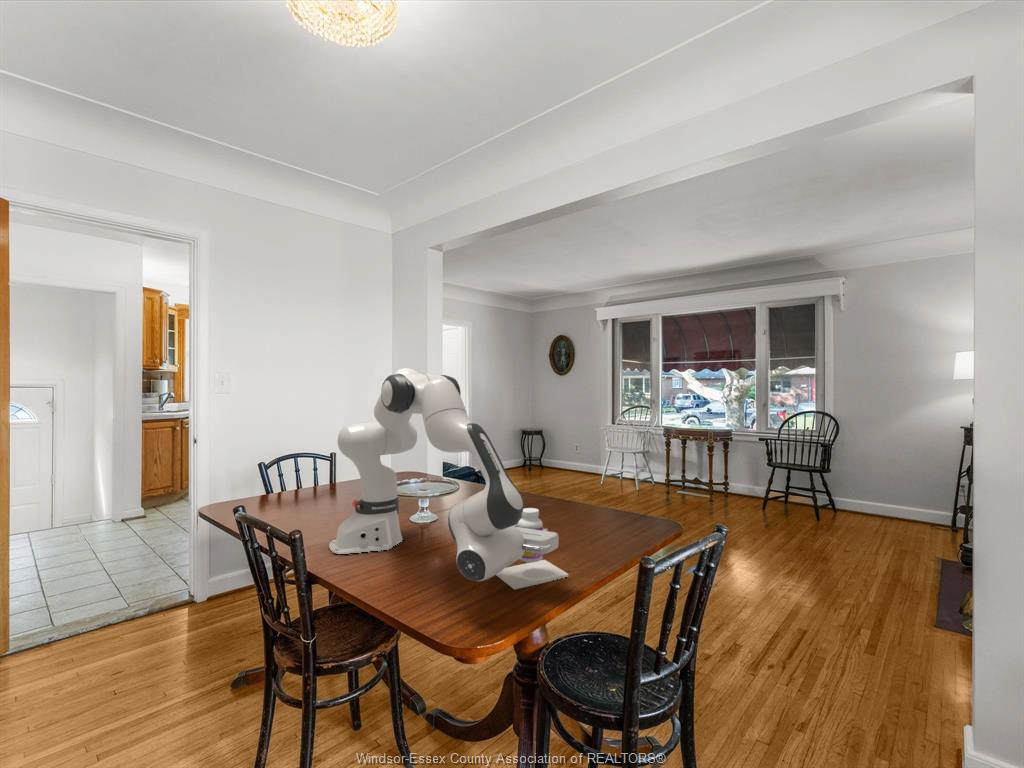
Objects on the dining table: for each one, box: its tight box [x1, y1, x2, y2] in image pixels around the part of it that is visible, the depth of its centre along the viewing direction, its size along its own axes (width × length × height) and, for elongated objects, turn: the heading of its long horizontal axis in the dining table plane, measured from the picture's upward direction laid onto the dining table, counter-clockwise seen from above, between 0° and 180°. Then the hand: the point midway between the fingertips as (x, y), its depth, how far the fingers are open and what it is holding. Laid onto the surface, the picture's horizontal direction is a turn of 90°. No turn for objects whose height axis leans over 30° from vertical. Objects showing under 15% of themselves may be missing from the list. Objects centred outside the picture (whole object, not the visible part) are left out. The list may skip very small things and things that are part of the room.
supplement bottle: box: [517, 507, 544, 563], centre depth 130 cm, size 7×7×13 cm
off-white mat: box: [495, 559, 570, 590], centre depth 130 cm, size 16×12×1 cm
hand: (531, 529), depth 131 cm, fingers closed on supplement bottle, 7 cm apart
